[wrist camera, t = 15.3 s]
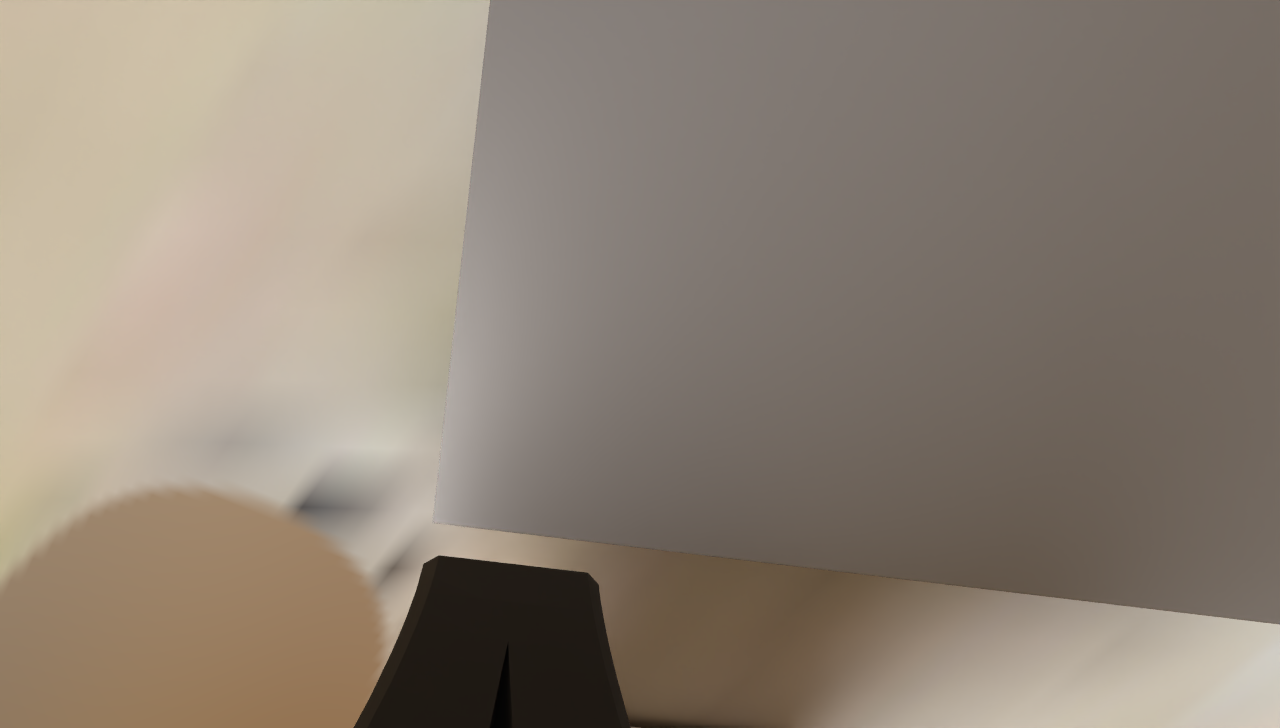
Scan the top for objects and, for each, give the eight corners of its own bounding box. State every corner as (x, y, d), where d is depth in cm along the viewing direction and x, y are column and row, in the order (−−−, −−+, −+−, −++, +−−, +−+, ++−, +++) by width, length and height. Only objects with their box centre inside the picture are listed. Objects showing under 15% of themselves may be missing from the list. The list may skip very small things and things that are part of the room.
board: (1290, 550, 23) (1340, 631, 21) (446, 442, 21) (432, 522, 20) (1854, -252, 15) (2005, -217, 13) (559, -545, 13) (550, -546, 11)
